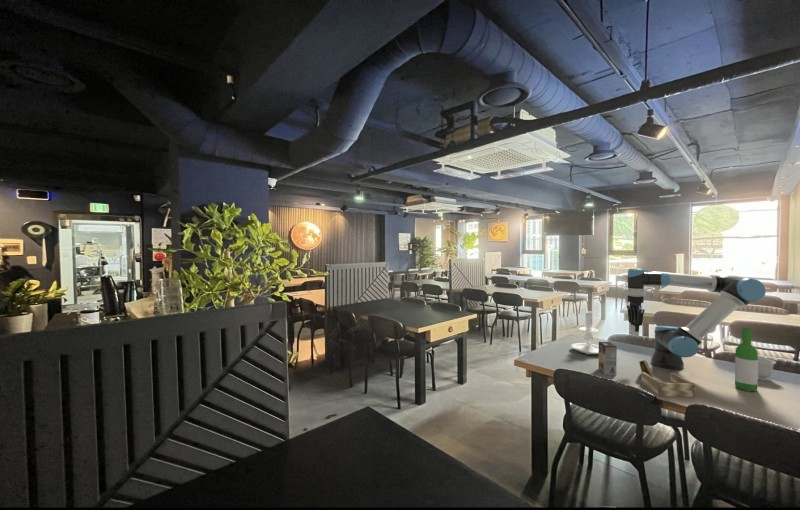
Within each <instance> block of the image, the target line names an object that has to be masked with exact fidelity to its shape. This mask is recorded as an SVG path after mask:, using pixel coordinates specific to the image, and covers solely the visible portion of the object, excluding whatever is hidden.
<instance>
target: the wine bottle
mask: <svg viewBox="0 0 800 510" xmlns="http://www.w3.org/2000/svg"><path fill="white" fill-rule="evenodd" d="M758 356H759V353H758V350H757V349H756V348H755V347H754V346H753V345H752V329H751V328H749V327H743V328H742V341H741V344H739V345H737V346H736V348H735V355H734V358H735V359H734V360H735V361H734V385H735V387H736V388H737V389H740V390H744V391H749V392H756V391H758V380H759V379H758Z"/></svg>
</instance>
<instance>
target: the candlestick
mask: <svg viewBox="0 0 800 510" xmlns="http://www.w3.org/2000/svg"><path fill="white" fill-rule="evenodd" d="M584 320H585V321H584V322H585V326H582V327H581V326H580V327H578V329H579V330H581V331H583V332H584V333H585V334H584V336H583V340H584V341H585V342H577V343H576V342H575V343H572V344H571V345H570V346H571V347H572V348H573V349H574V350H575V351H577V352H579V353H582V354H586V355H599V344H594V343H592V342H593V341H594V338H595V337H594V336H593V334H592V333H593V332H594V333H595V332H599V329H597V328H595V327H592V325H593V323H592V320H593V311H591V310H588V311H585V319H584Z"/></svg>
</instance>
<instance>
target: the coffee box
mask: <svg viewBox="0 0 800 510" xmlns="http://www.w3.org/2000/svg"><path fill="white" fill-rule="evenodd" d="M598 345H599V354H598V369H599V370H600V371H601V372H602V374H604V375H608V376H611V375H613V376H617V361H618V360H617V352H618V351H617V350H618V349H617V348H618V347H617V346H616V345H615V344H613V343H612V342H611V341H598Z"/></svg>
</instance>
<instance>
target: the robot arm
mask: <svg viewBox="0 0 800 510" xmlns="http://www.w3.org/2000/svg"><path fill="white" fill-rule="evenodd" d="M626 278H627V289H626V291H627V302H628V303H629V304H628V305H626V309H627V318H628V323H630V327H631V336H632V337H634V338H640V326H643V321H644V314H645V309H643V308H642V304H644V299H645V298H644V295H645V293H644V291H645V287H644V286H657V287H658V286H661V287H663V286H664V287H665V286H672V287H678V288H679V287H680V288H689V289H697V290H698V289H699V290H707V291H708V292H710V293H716V294H720V296H719V297H717V299H715V300H714V301H713V302H712V303H711V304H709V305H708V306H707V307H706V308H705V309H704V310H703V311H701V312H700V313H699V314H697V316H696V317H694V318H693V319H692V320H691V321H690V322H689V323H688V324H687V325H684V326H679V327H678V326H671V325H670V326H668V325H656V326H655V327H654V351H653V354H652V356H651V357H650V363H651V364H652V365H654V366H656V367H659V368H664V369H667V370H669V369H670V370H682V369H684V367H685V366H684V365H685V364H684V361H683V358H691V357H693V356H695V355H696V354H697V353H698V352H699V346H700V345H702V342H703V341H702V339H703V338H704V337H705V336H706V335H707V334H709V333H710V332H711V331H712V330H713V329H714V328H716V327H717V326H718V325H719V324H720V323H722V322H723V321H724V320H725V319H726V318H728V316H730V315H731V314H732V313H733V312H734V311H736V310H737V309H738V308H745V307H746V306H748V305H749V304H750V303H751V302H752V303H754V302H759V301H761V300H762V299H763V298H764V297H765V296H766V293H767V291H766V286H765V285H764V283H763V282H762V281H760V280H759V279H755V278H752V277H744V276H738V275H716V274H715V275H714V274H711V275H708V276H707V275H698V274H697V275H695V274H687V273H686V274H685V273H677V272H676V273H675V272H668V271H666V272H665V271H658V270H657V271H656V270H655V271H654V270H649V269H648V270H647V269H643V268H628V270H627V277H626Z"/></svg>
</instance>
